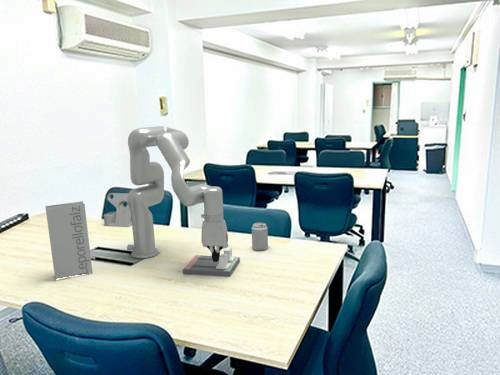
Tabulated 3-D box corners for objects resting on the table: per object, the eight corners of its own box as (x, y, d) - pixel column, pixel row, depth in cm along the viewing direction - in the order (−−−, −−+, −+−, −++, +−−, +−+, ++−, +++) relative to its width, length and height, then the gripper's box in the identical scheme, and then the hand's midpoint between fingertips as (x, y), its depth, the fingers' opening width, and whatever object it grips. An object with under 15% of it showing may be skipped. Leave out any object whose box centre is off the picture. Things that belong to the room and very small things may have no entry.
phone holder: (102, 226, 245) (99, 196, 242) (112, 221, 255) (109, 192, 251) (128, 227, 241) (125, 196, 237) (137, 222, 250) (135, 192, 246)
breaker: (221, 261, 177) (220, 250, 176) (224, 257, 182) (223, 246, 181) (232, 262, 176) (231, 251, 175) (235, 257, 181) (234, 247, 180)
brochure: (55, 281, 169) (45, 208, 163) (54, 276, 174) (45, 206, 168) (92, 273, 175) (84, 203, 169) (90, 269, 180) (82, 201, 174)
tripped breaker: (216, 268, 169) (215, 257, 168) (219, 264, 174) (219, 253, 173) (228, 269, 168) (227, 258, 167) (231, 264, 173) (230, 253, 172)
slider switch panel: (183, 273, 171) (182, 268, 171) (196, 259, 187) (196, 255, 186) (230, 276, 167) (229, 271, 166) (239, 261, 182) (239, 257, 182)
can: (266, 251, 193) (266, 226, 191) (250, 251, 195) (249, 226, 192) (269, 246, 200) (268, 222, 198) (253, 245, 202) (253, 221, 200)
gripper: (193, 219, 166) (195, 263, 169) (229, 220, 162) (231, 265, 166) (199, 214, 173) (201, 256, 177) (234, 215, 169) (236, 258, 173)
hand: (216, 260), depth 171 cm, fingers closed
